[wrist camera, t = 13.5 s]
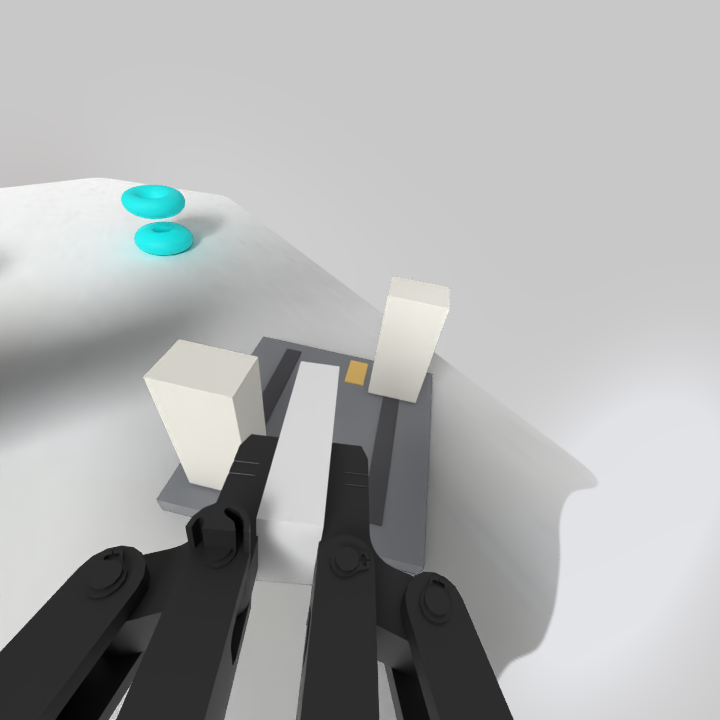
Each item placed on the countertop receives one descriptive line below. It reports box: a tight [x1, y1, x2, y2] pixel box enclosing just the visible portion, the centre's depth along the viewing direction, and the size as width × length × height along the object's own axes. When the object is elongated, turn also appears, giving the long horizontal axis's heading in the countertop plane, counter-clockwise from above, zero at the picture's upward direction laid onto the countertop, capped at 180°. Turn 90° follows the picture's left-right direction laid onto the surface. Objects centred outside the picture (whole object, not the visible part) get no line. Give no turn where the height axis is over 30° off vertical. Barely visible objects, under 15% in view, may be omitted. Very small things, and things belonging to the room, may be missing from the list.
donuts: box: [121, 185, 193, 255], centre depth 64 cm, size 10×10×10 cm
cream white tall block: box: [368, 276, 450, 403], centre depth 39 cm, size 4×6×14 cm, turn 79°
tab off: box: [143, 339, 266, 490], centre depth 28 cm, size 4×6×14 cm, turn 79°
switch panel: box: [157, 337, 432, 575], centre depth 39 cm, size 24×24×2 cm
